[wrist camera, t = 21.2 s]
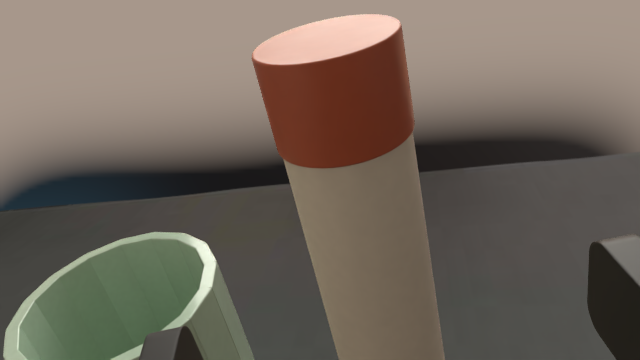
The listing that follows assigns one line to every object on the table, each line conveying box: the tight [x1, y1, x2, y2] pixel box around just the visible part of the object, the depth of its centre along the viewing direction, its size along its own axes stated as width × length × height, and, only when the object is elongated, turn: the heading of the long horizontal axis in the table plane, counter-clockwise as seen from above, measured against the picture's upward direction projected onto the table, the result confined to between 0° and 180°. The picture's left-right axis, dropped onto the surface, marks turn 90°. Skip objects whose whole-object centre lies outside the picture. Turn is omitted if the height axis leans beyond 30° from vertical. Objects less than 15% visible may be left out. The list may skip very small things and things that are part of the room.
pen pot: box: [3, 232, 255, 360], centre depth 26 cm, size 9×9×8 cm
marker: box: [252, 14, 445, 360], centre depth 19 cm, size 4×4×18 cm
